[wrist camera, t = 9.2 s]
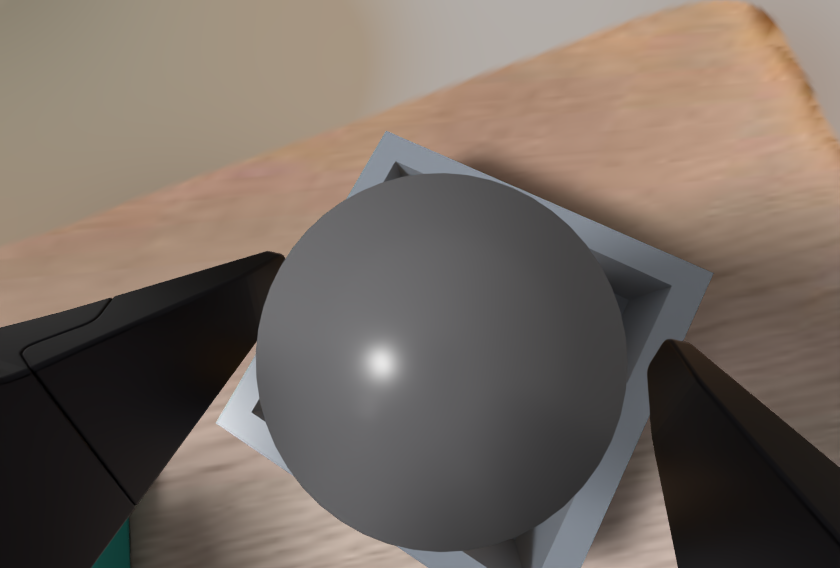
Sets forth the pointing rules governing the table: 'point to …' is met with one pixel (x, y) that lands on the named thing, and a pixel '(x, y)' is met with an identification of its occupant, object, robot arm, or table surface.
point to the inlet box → (645, 332)
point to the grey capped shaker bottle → (441, 362)
